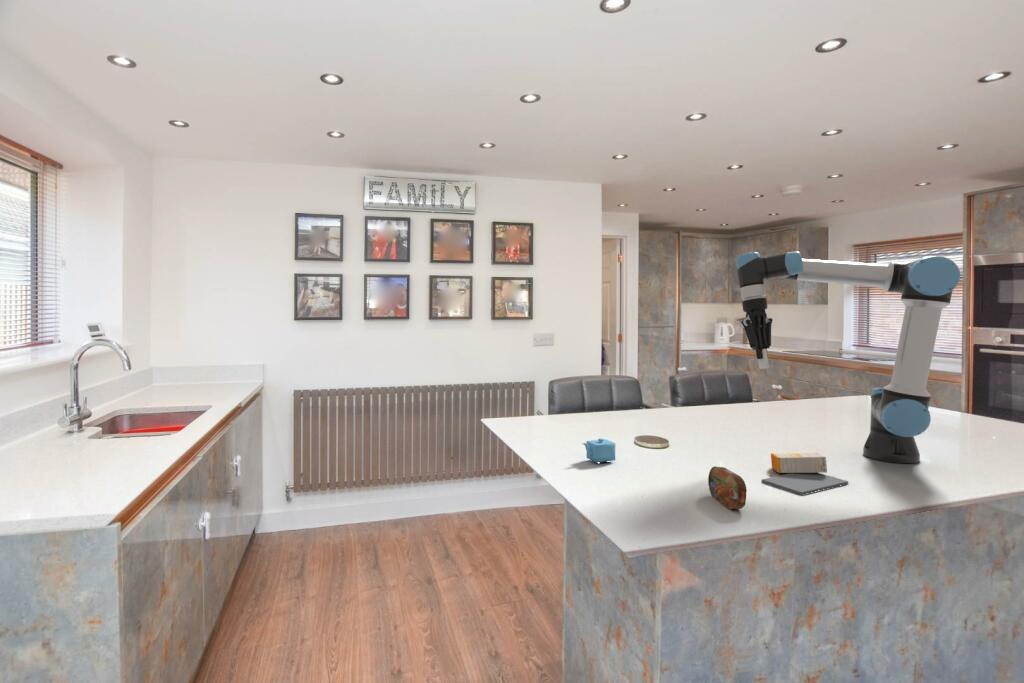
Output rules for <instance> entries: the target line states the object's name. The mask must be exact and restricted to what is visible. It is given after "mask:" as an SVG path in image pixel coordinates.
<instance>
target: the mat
mask: <svg viewBox="0 0 1024 683" xmlns="http://www.w3.org/2000/svg"><path fill="white" fill-rule="evenodd" d="M761 483H764V484H766V485H769V486H772V487H775V488H778V489H781V488H782V489H781V490H785V491H787V490H788V491H787V492H790V491H791V492H790V493H793V492H794V494H796V493H798V494H797V495H799V494H801V495H800V496H804V495H803V494H806V493H810V494H812V493H811V492H814V493H816V492H815V491H818V490H822V491H824V490H823V489H826V490H828V489H827V488H830V489H833V488H832V487H834V488H837V487H836V486H838V487H841V486H840V485H842V486H845V485H844V484H846V485H849V481H848V480H845V479H842V478H837V477H835V476H831V475H827V474H825V473H824V474H823V473H784V474H781V475H777V476H771V477H767V478H763V479H761ZM818 492H819V491H818ZM806 495H807V494H806Z"/></svg>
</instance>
